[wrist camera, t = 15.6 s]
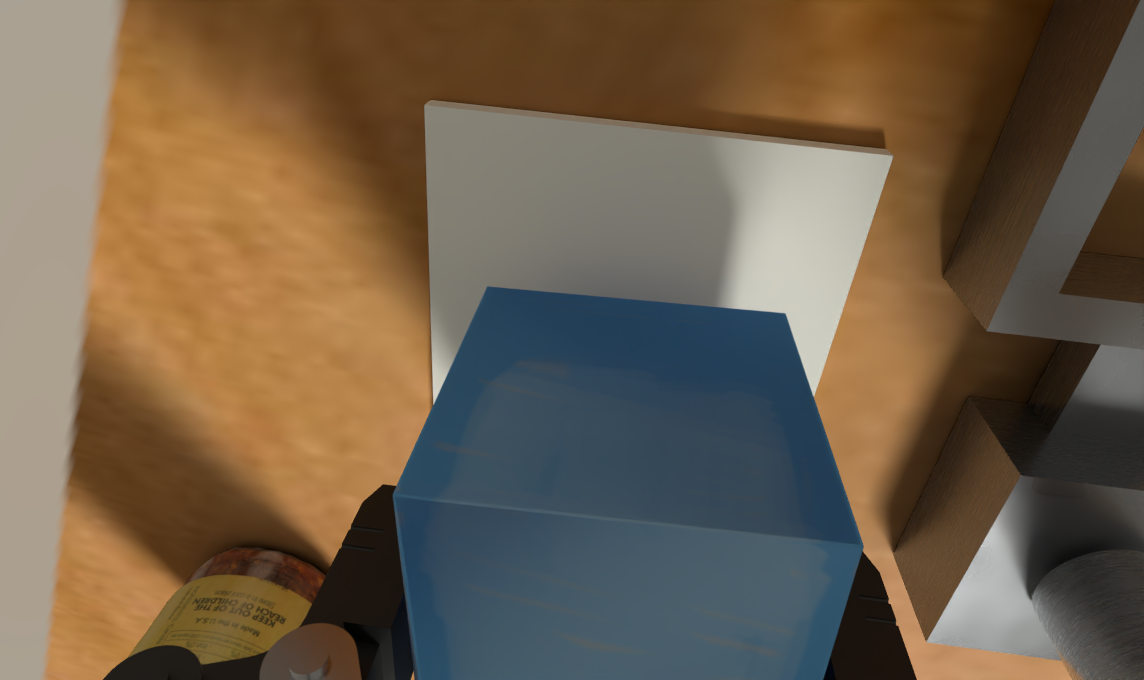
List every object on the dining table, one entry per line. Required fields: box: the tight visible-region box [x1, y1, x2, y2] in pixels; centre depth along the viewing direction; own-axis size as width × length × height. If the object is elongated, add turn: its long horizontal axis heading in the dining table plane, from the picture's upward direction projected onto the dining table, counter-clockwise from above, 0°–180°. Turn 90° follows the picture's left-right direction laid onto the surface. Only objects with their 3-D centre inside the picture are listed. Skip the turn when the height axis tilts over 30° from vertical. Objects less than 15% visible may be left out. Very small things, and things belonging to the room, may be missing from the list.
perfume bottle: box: [393, 286, 864, 680], centre depth 11 cm, size 6×6×12 cm
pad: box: [424, 100, 893, 405], centre depth 18 cm, size 12×10×1 cm
